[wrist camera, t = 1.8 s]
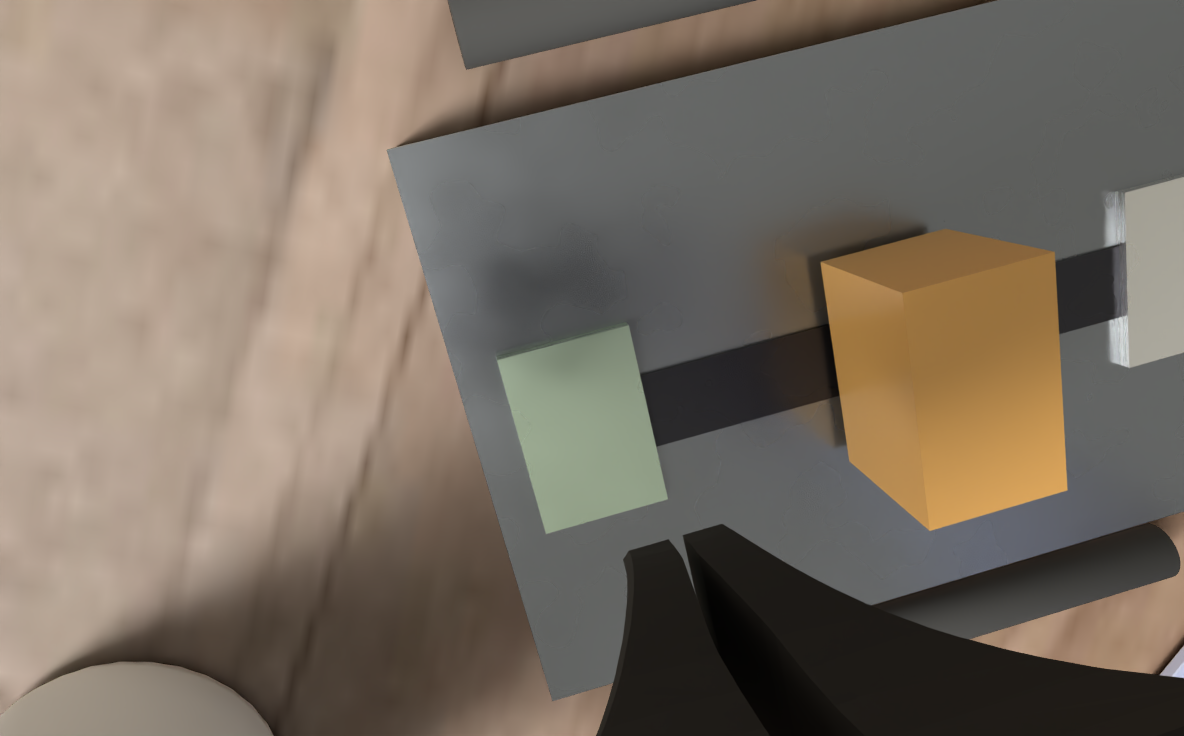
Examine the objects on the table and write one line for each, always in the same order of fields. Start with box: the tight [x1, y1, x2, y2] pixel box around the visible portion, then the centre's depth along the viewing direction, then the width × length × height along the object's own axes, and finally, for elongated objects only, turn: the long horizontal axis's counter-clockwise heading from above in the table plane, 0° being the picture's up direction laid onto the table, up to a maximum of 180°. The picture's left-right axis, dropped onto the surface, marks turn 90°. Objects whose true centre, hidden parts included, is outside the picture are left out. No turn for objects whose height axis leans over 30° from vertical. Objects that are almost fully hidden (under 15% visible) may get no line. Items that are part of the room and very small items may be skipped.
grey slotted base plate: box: [448, 0, 1180, 639], centre depth 20 cm, size 16×21×2 cm
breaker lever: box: [820, 229, 1067, 531], centre depth 17 cm, size 3×5×4 cm, turn 13°
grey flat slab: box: [387, 0, 1184, 701], centre depth 20 cm, size 20×14×2 cm
